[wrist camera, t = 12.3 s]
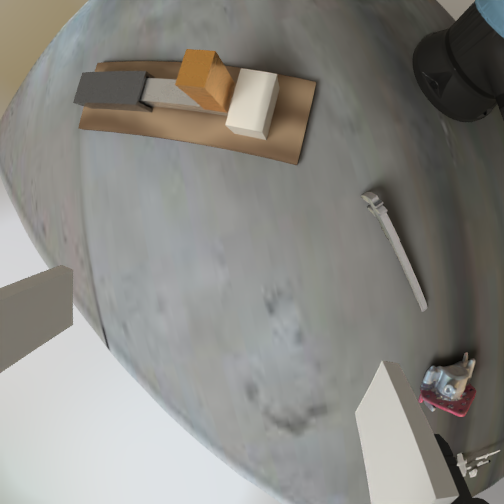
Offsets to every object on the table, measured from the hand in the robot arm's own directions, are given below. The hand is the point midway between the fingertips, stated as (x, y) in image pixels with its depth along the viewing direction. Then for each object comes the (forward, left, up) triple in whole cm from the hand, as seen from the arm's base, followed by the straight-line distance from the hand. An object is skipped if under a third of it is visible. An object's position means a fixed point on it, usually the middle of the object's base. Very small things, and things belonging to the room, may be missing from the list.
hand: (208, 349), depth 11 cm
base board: (-16, -17, -32) cm, 39 cm away
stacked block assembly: (-16, -16, -29) cm, 37 cm away
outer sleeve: (-16, -27, -30) cm, 44 cm away
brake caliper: (+16, +36, -32) cm, 51 cm away
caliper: (-2, +18, -32) cm, 37 cm away
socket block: (-16, -6, -30) cm, 35 cm away
